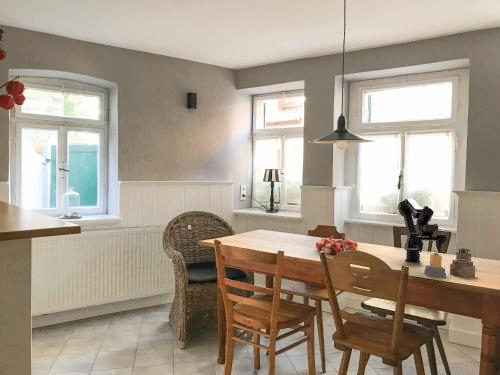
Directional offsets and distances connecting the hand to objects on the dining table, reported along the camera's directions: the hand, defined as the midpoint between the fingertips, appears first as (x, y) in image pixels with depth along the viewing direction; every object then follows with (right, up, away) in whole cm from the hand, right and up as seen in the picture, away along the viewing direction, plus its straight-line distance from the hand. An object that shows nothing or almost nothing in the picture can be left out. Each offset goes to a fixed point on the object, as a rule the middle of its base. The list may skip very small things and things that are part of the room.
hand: (430, 252), depth 223 cm
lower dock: (-1, -10, -7) cm, 12 cm away
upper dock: (+14, -11, -4) cm, 18 cm away
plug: (0, -8, -7) cm, 11 cm away
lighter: (+25, -10, +17) cm, 32 cm away
